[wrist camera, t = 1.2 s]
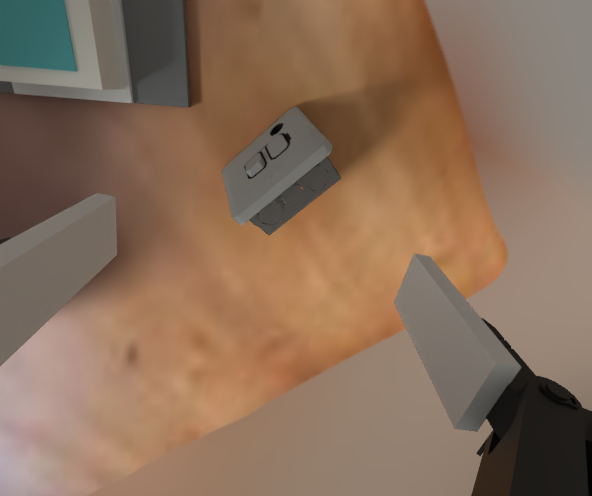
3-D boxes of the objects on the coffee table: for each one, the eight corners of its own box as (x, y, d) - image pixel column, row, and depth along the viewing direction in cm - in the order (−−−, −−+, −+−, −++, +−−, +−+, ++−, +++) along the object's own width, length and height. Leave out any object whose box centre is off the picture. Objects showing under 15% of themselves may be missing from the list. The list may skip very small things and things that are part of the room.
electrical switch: (295, 103, 30) (315, 119, 22) (327, 146, 33) (355, 176, 25) (220, 168, 32) (214, 205, 24) (256, 205, 35) (261, 249, 27)
